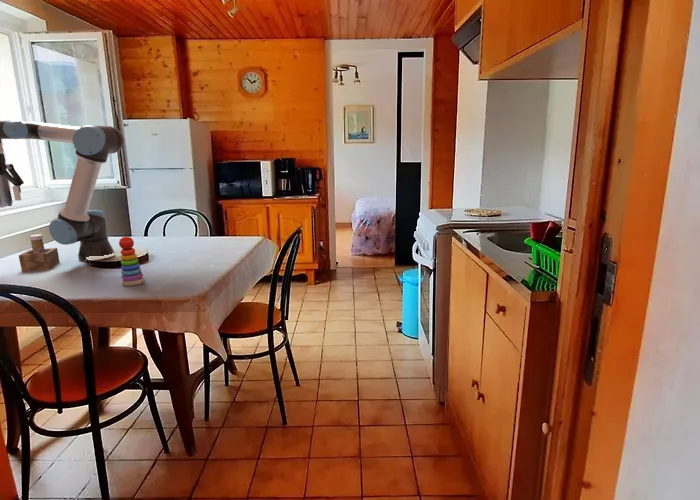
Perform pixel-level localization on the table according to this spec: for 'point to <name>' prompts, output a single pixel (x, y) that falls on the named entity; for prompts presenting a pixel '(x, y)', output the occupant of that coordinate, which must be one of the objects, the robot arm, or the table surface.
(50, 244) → the table surface
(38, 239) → the sprinkles bottle
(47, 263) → the walnut socket block
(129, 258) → the stacking toy
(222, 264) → the table surface
